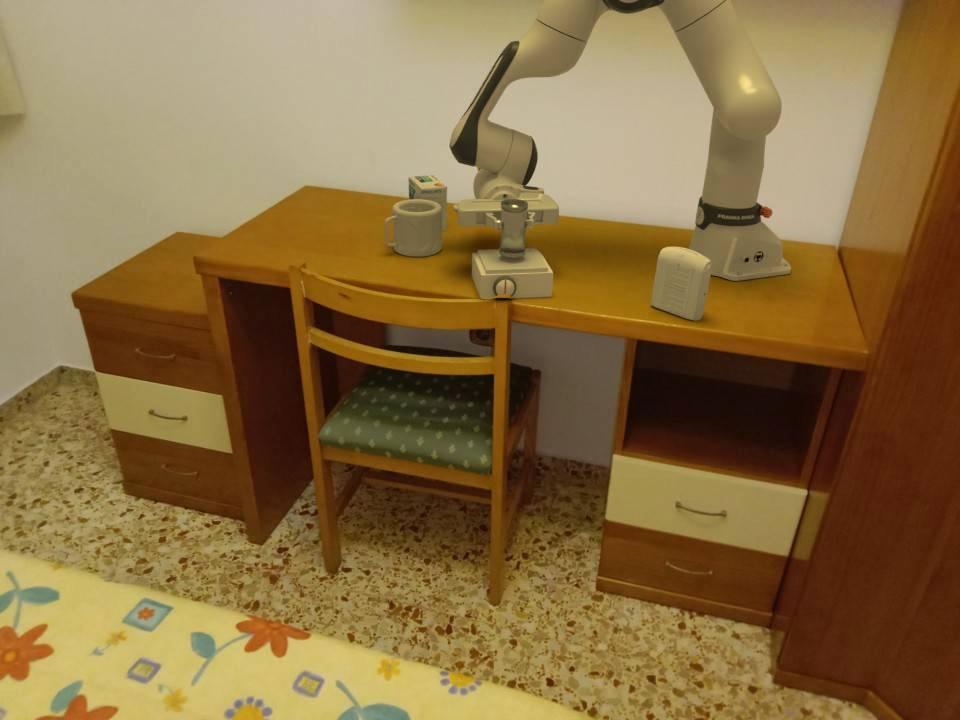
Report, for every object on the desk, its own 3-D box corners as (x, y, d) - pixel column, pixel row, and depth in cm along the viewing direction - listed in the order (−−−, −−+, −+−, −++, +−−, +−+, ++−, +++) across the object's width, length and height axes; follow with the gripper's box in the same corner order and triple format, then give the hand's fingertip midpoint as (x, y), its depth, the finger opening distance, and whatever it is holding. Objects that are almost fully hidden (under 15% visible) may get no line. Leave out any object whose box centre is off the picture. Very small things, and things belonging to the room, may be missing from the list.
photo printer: (706, 316, 140) (718, 254, 134) (695, 323, 137) (706, 260, 131) (658, 300, 146) (667, 239, 140) (646, 306, 143) (655, 245, 137)
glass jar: (522, 247, 150) (525, 198, 145) (527, 257, 145) (530, 207, 140) (496, 248, 149) (498, 199, 144) (501, 258, 144) (503, 207, 140)
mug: (425, 237, 174) (424, 195, 169) (451, 251, 167) (451, 207, 162) (373, 248, 167) (371, 205, 162) (398, 264, 159) (397, 218, 155)
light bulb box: (408, 219, 185) (407, 176, 180) (434, 217, 188) (434, 174, 182) (420, 233, 177) (420, 188, 172) (447, 230, 179) (448, 186, 174)
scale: (538, 273, 157) (539, 246, 154) (553, 298, 145) (555, 270, 142) (471, 275, 154) (472, 249, 152) (481, 301, 143) (482, 273, 140)
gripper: (451, 189, 152) (460, 210, 140) (550, 187, 155) (566, 207, 143) (451, 219, 155) (460, 242, 143) (548, 216, 158) (564, 239, 146)
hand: (514, 225), depth 143 cm, fingers closed on glass jar, 5 cm apart
